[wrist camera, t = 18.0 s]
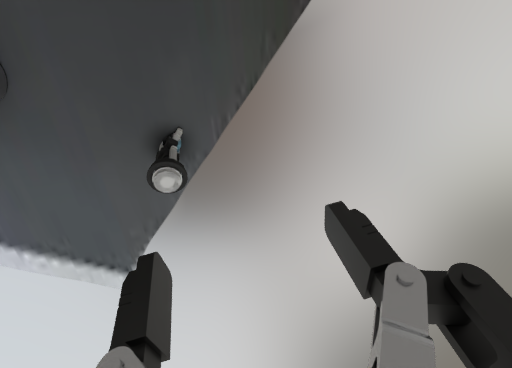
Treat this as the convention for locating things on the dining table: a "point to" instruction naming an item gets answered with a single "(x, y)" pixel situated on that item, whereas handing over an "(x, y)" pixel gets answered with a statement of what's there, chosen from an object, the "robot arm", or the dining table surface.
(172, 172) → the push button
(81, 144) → the dining table surface
